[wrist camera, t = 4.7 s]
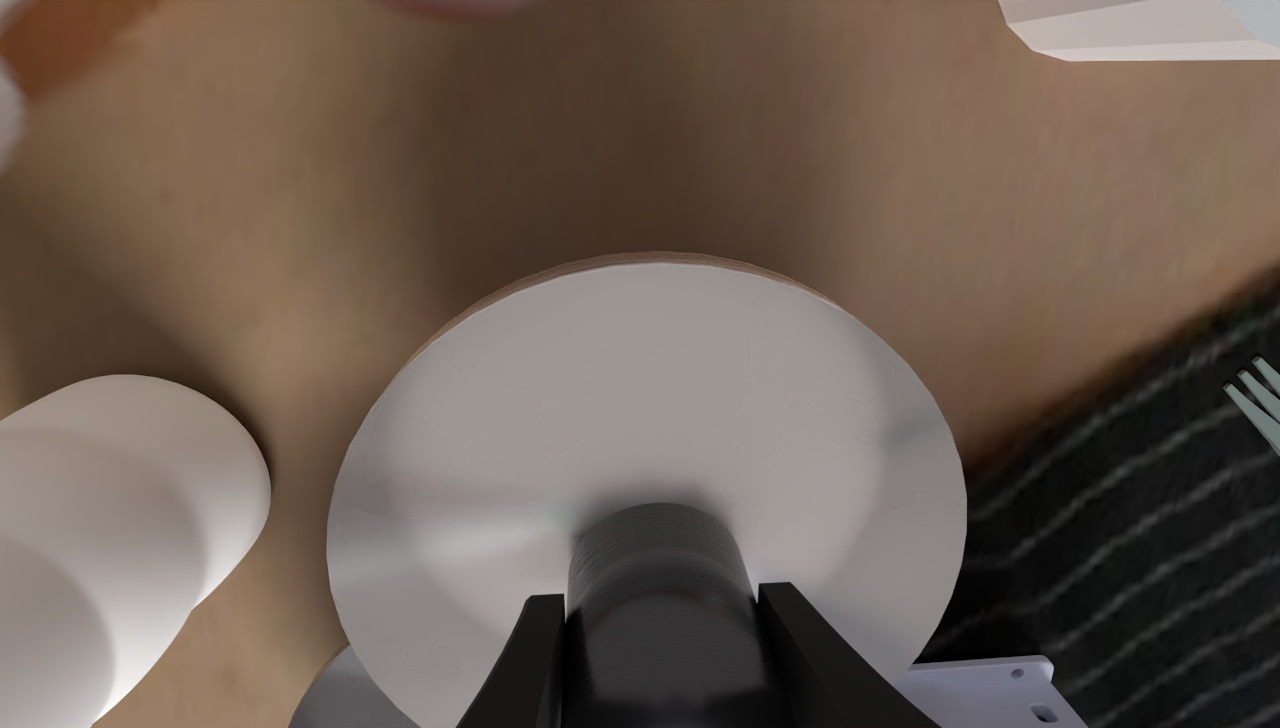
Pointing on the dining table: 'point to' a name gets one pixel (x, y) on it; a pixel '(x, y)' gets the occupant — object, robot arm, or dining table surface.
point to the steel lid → (644, 493)
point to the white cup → (1147, 29)
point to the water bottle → (113, 537)
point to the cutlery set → (1273, 430)
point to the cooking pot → (347, 698)
